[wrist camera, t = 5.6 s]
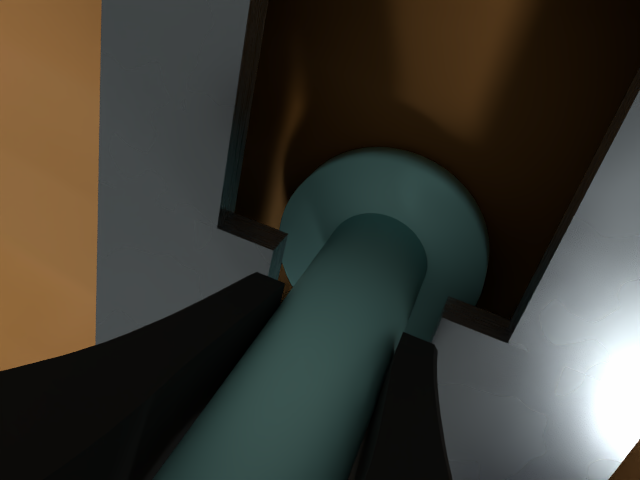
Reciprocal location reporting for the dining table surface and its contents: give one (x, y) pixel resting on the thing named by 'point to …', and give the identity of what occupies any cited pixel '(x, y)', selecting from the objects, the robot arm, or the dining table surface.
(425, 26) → the dining table surface
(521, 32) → the dining table surface
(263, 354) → the peg
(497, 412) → the keyhole plate
